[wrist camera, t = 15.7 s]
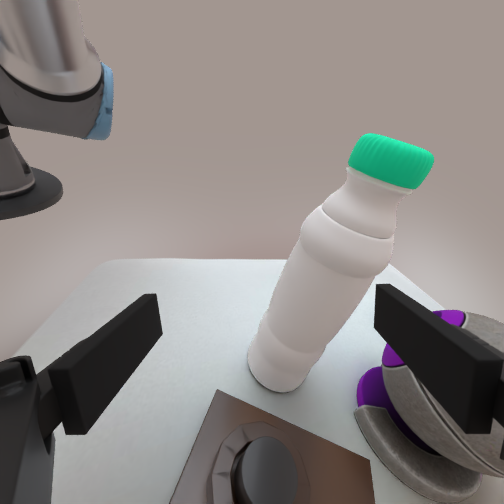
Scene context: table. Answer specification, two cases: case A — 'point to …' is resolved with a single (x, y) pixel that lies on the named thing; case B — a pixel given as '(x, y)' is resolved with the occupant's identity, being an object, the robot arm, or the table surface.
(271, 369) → the water bottle
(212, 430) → the button base
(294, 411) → the table surface
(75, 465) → the table surface
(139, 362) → the robot arm
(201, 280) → the table surface
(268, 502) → the dark grey button cap
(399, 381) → the webcam
